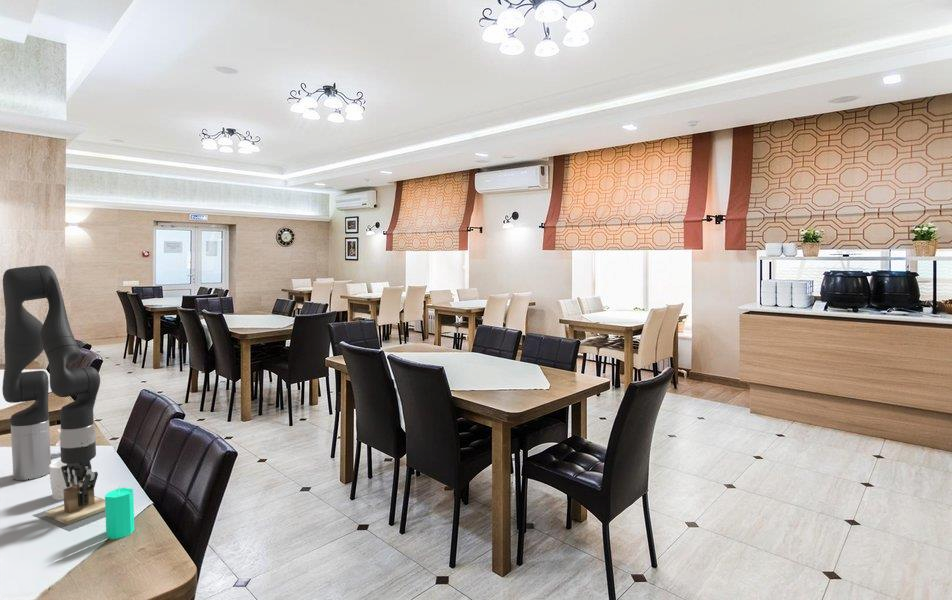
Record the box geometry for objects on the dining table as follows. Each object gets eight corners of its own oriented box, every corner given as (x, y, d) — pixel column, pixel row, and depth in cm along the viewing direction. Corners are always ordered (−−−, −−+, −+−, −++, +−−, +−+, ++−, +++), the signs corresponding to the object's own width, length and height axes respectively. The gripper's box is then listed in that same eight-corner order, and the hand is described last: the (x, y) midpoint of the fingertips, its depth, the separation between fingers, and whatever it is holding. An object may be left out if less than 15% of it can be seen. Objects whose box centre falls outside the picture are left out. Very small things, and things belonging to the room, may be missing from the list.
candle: (120, 540, 126) (118, 492, 126) (99, 537, 128) (98, 490, 127) (140, 528, 132) (139, 482, 132) (121, 525, 134) (119, 480, 133)
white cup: (63, 490, 154) (61, 457, 153) (91, 490, 154) (89, 457, 154) (43, 502, 146) (41, 468, 145) (72, 502, 146) (71, 467, 146)
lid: (45, 515, 137) (43, 489, 137) (91, 498, 147) (89, 474, 146) (67, 525, 132) (66, 498, 132) (113, 506, 142) (112, 482, 142)
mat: (32, 517, 137) (32, 515, 137) (90, 496, 150) (90, 494, 150) (69, 533, 129) (69, 531, 129) (127, 509, 142) (127, 508, 142)
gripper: (47, 442, 138) (50, 504, 139) (76, 450, 132) (79, 516, 133) (79, 434, 145) (81, 493, 146) (108, 442, 139) (110, 504, 140)
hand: (80, 504), depth 140 cm, fingers closed on lid, 2 cm apart
